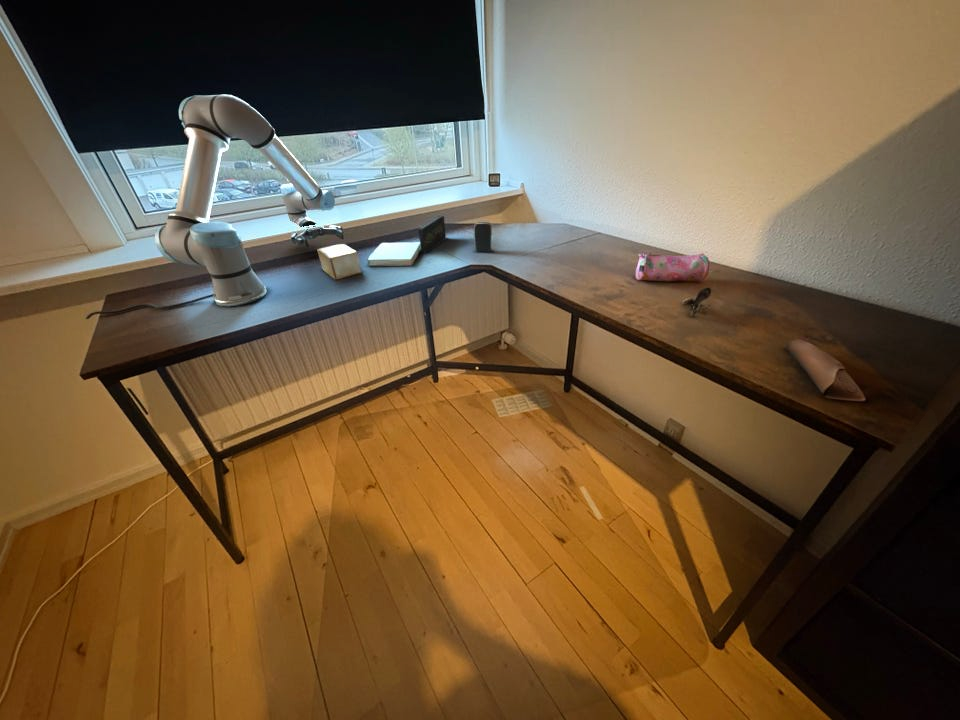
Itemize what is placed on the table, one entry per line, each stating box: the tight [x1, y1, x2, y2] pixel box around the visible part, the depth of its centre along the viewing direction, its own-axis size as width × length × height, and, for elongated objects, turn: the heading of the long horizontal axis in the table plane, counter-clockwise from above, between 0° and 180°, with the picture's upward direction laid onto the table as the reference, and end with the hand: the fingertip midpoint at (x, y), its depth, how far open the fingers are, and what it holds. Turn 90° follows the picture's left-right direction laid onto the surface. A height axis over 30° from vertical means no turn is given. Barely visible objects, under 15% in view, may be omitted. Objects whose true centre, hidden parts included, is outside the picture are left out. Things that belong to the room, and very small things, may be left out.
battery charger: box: [473, 221, 493, 253], centre depth 153 cm, size 7×4×11 cm, turn 82°
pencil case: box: [635, 252, 710, 283], centre depth 123 cm, size 21×9×9 cm, turn 81°
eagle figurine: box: [682, 287, 712, 317], centre depth 106 cm, size 8×7×9 cm
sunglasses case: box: [785, 338, 867, 402], centre depth 82 cm, size 18×7×7 cm, turn 167°
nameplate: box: [418, 215, 447, 254], centre depth 161 cm, size 21×2×10 cm, turn 161°
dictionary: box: [317, 243, 362, 281], centre depth 140 cm, size 13×10×8 cm
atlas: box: [366, 241, 421, 267], centre depth 153 cm, size 17×20×3 cm
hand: (324, 239), depth 144 cm, fingers open, 13 cm apart
